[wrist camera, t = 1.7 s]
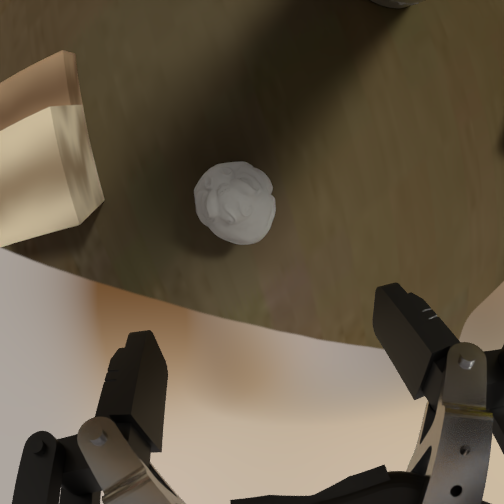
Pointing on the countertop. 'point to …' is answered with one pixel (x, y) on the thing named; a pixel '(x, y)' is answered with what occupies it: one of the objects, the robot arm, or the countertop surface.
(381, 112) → the countertop surface
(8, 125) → the plinth
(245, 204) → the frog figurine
